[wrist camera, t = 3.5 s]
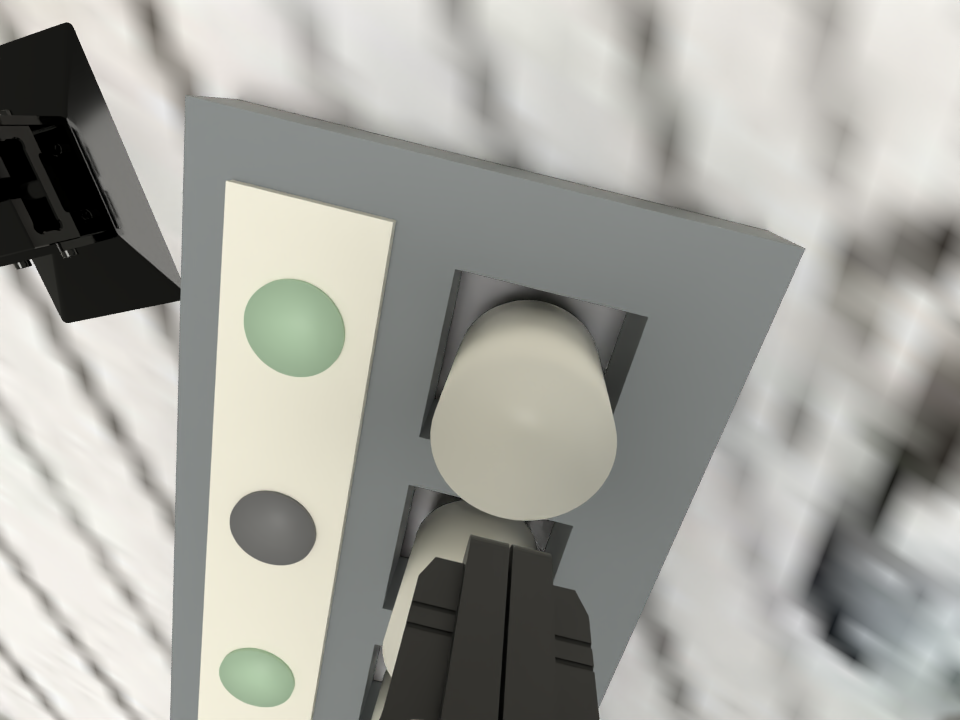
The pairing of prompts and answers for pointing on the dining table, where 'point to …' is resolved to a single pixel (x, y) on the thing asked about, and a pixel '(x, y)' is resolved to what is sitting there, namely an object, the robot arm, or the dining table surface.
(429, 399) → the button board
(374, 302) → the strip
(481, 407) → the button
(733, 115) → the dining table surface
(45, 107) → the black boxy piece
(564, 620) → the robot arm
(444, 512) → the button
